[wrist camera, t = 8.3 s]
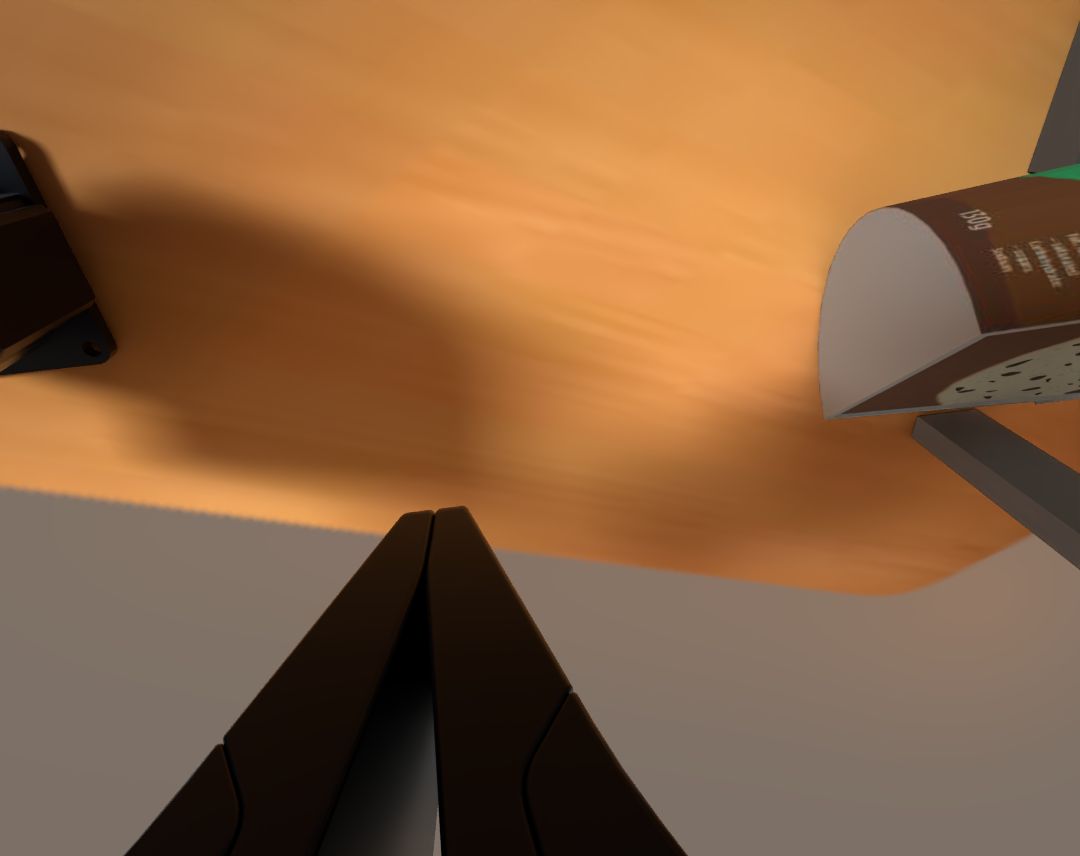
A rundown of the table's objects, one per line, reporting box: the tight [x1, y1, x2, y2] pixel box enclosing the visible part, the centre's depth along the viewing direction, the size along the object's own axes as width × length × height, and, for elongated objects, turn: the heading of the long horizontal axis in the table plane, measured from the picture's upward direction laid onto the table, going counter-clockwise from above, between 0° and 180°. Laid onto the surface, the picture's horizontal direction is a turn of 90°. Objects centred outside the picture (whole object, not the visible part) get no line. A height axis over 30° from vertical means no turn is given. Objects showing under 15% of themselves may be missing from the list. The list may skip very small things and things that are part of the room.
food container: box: [818, 164, 1080, 420], centre depth 16 cm, size 12×6×10 cm
